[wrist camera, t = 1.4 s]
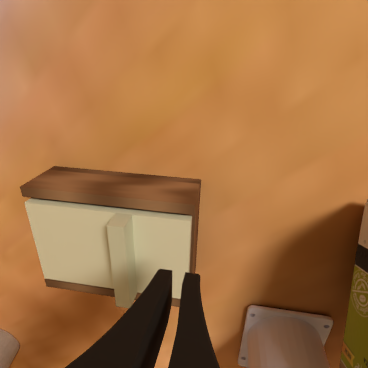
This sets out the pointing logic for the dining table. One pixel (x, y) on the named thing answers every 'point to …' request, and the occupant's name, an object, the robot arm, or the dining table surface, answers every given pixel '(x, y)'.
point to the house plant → (7, 348)
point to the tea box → (358, 306)
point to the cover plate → (110, 245)
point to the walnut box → (118, 202)
